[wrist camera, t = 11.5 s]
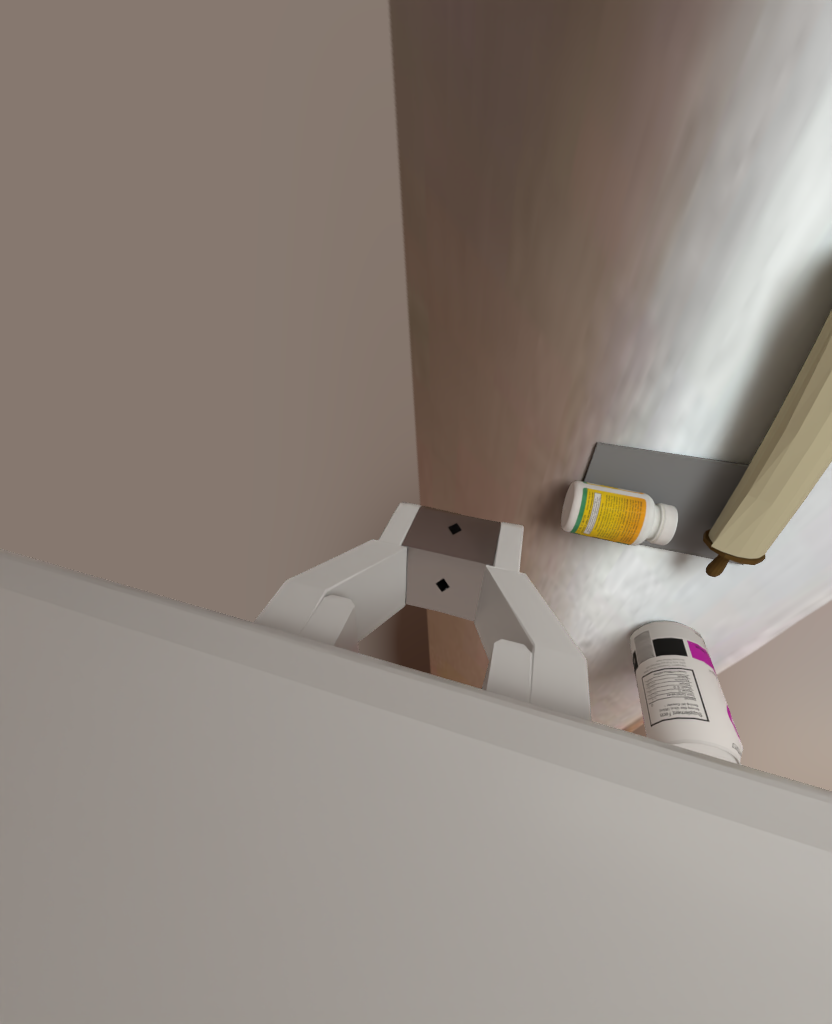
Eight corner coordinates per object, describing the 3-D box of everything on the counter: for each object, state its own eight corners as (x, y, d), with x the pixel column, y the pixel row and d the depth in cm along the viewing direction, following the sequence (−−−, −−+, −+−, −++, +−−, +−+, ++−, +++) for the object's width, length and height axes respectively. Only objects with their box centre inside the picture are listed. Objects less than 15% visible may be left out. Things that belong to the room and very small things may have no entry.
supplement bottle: (573, 471, 40) (672, 488, 38) (559, 512, 43) (650, 531, 41) (576, 496, 36) (688, 518, 34) (560, 541, 39) (662, 563, 37)
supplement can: (715, 627, 47) (767, 758, 35) (684, 665, 52) (721, 790, 40) (643, 610, 49) (671, 730, 37) (619, 648, 53) (638, 765, 42)
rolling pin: (732, 564, 41) (752, 598, 37) (674, 554, 42) (687, 586, 38) (1000, 154, 22) (1097, 135, 18) (882, 158, 24) (949, 140, 20)
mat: (597, 442, 38) (597, 444, 38) (808, 473, 34) (810, 476, 34) (567, 528, 45) (567, 530, 44) (742, 562, 41) (743, 564, 41)
